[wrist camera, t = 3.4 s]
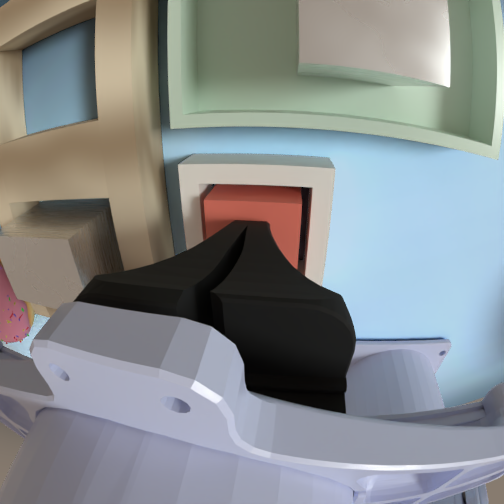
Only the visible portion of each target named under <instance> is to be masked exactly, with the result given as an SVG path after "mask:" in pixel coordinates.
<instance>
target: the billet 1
mask: <svg viewBox="0 0 504 504" xmlns="http://www.w3.org/2000/svg"><path fill="white" fill-rule="evenodd" d="M0 259H1V262H2V264H3V267H4V270H5V272H6V274H7V277H8V279H9V282H10V284H11V286H12V289H13V291H14V293H15V295H16V297H17V299H19V300H23V301H26V302H30V303H34V304H38V305H42V306H46V307H50V308H54V309H58V308H59V307H60V305H61V304H62V303H69V302H73V301H74V300H75V299H76V297H77V296H78V295H79V294H80V293H81V291H82V290H83V289H84V288H85V287H86V286H87V284H88V283H89V282H90V281H91V280H92V279H93V277H94V276H95V275H101V274H108V273H115V272H121V271H125V270H124V266H123V262H122V258H121V254H120V250H119V246H118V241H117V237H116V232H115V227H114V222H113V217H112V212H111V207H110V202H109V198H90V199H66V200H47V201H42V202H40V203H39V204H37V205H36V206H34V207H32V208H31V209H29V210H28V211H26V212H25V213H23V214H22V215H20V216H19V217H17V218H16V219H14V220H13V221H12V222H10V223H9V224H7V225H6V226H4V227H3V228H2V229H0Z"/></svg>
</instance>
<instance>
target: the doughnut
mask: <svg viewBox="0 0 504 504" xmlns="http://www.w3.org/2000/svg"><path fill="white" fill-rule="evenodd" d="M34 315H35V312H34V310H33V307H32V305H31V303H30V302H26V301H23V300H19V299H17V297H16V295H15V293H14V291H13V289H12V286H11V284H10V282H9V279H8V277H7V274H6V272H5V270H4V267H3V264H2V262H1V259H0V340H1V341H5V342H6V344H7V342H17V341H20V340H21V341H23V338H25V337H26V336H29V335H28V334H29V332H30V329H31V327H32V325H33V322H34ZM21 341H20V342H21Z"/></svg>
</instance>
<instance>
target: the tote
mask: <svg viewBox="0 0 504 504" xmlns="http://www.w3.org/2000/svg"><path fill="white" fill-rule="evenodd" d="M447 3H448V14H449V27H450V87H428V86H389V85H383V84H377V83H371V82H364V81H357V80H349V79H340V78H330V77H318V76H302V75H297V34H296V0H168V25H167V46H168V89H169V111H170V129H179V128H197V127H231V126H257V127H291V128H309V129H323V130H335V131H346V132H355V133H364V134H372V135H380V136H387V137H393V138H400V139H406V140H412V141H418V142H423V143H428V144H433V145H438V146H443V147H448V148H452V149H457V150H461V151H465V152H470V153H474V154H477V155H481V156H485V157H489V158H492V159H496V160H498V157H499V151H500V144H501V136H502V128H503V118H504V28H503V19H502V11H501V4H500V0H447Z"/></svg>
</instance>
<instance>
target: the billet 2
mask: <svg viewBox="0 0 504 504" xmlns="http://www.w3.org/2000/svg"><path fill="white" fill-rule="evenodd" d="M296 34H297V75H302V76H318V77H330V78H340V79H349V80H357V81H364V82H371V83H377V84H383V85H389V86H428V87H450V27H449V14H448V3H447V0H296Z"/></svg>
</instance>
